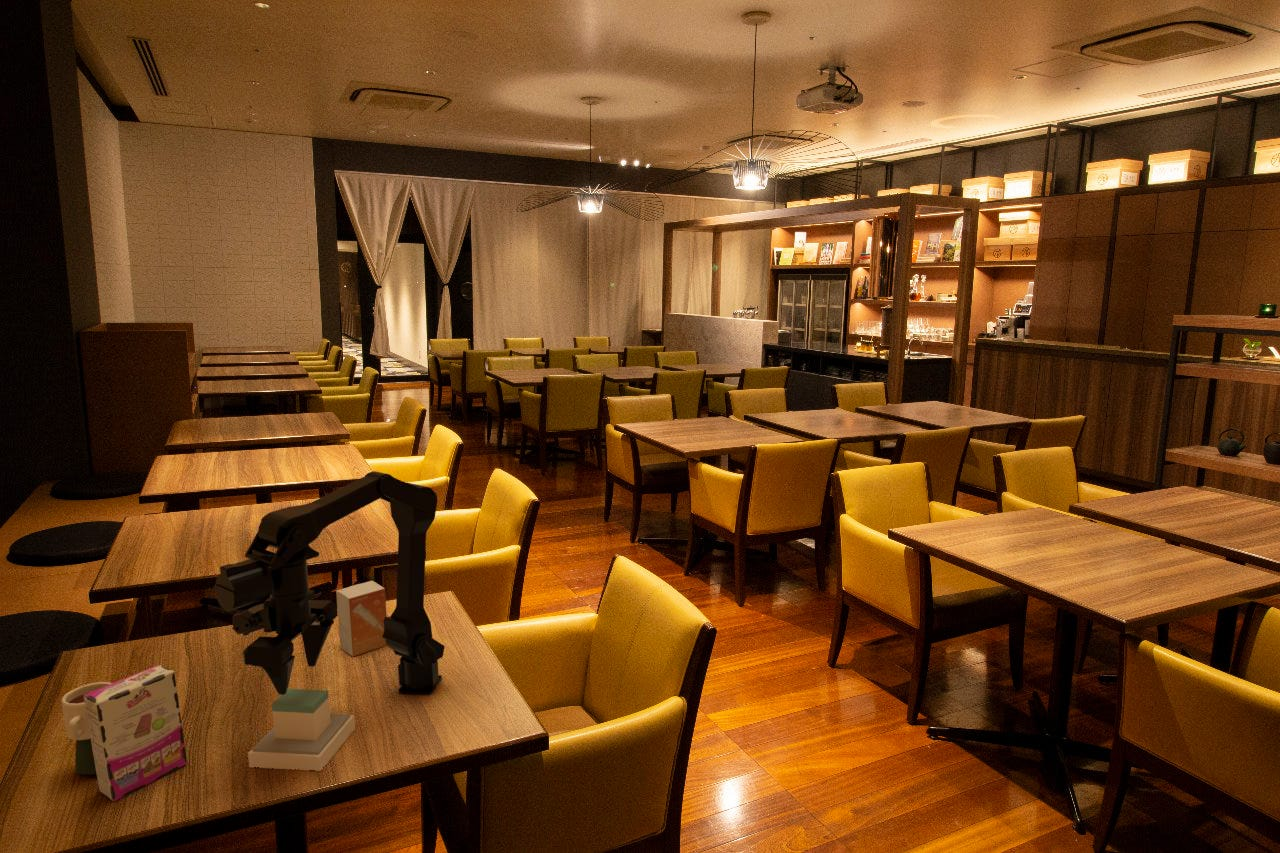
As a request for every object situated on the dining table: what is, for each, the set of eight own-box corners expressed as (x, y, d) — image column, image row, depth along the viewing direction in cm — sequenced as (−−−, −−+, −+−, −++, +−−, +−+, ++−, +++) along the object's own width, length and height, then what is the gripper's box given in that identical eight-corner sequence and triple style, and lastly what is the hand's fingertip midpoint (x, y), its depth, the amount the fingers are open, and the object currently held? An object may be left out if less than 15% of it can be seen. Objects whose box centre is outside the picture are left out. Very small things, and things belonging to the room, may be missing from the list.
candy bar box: (172, 755, 128) (160, 662, 125) (188, 764, 125) (176, 670, 122) (96, 792, 118) (81, 693, 115) (112, 803, 116) (97, 702, 113)
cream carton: (291, 721, 132) (288, 688, 131) (330, 723, 131) (328, 690, 130) (275, 738, 127) (271, 704, 126) (315, 740, 126) (312, 706, 125)
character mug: (105, 786, 120) (94, 709, 117) (55, 791, 119) (42, 713, 116) (140, 745, 130) (130, 674, 128) (94, 749, 129) (84, 677, 127)
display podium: (355, 728, 135) (354, 712, 134) (321, 771, 123) (319, 754, 123) (289, 725, 136) (287, 709, 135) (249, 767, 124) (247, 750, 124)
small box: (352, 657, 160) (348, 598, 158) (339, 647, 165) (335, 589, 162) (389, 645, 166) (385, 587, 163) (376, 635, 170) (371, 579, 168)
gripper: (274, 567, 134) (281, 651, 137) (204, 611, 116) (215, 707, 119) (335, 569, 133) (342, 653, 136) (275, 614, 115) (284, 711, 118)
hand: (297, 679), depth 127 cm, fingers open, 9 cm apart
